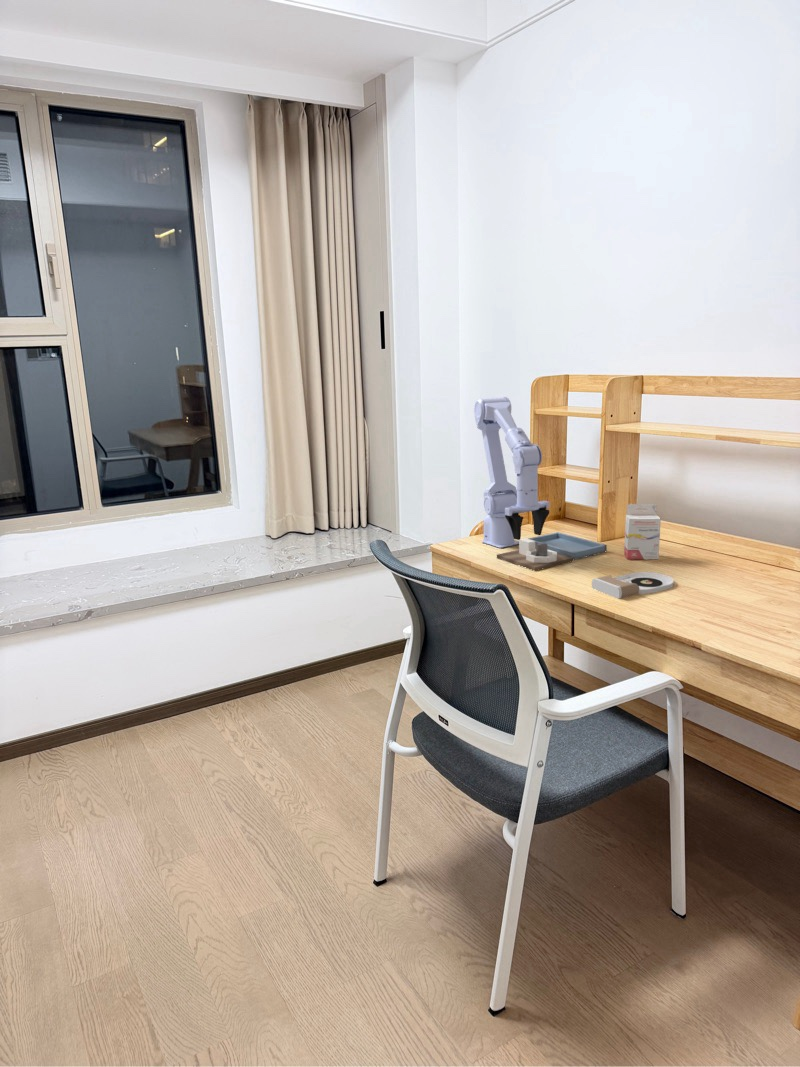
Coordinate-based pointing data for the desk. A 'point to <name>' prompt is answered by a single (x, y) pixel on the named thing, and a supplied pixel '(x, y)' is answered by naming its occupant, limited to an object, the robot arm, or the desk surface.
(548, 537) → the tray
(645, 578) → the record player
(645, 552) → the ink cartridge box
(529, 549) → the ring
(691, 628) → the desk surface
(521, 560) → the stake board
